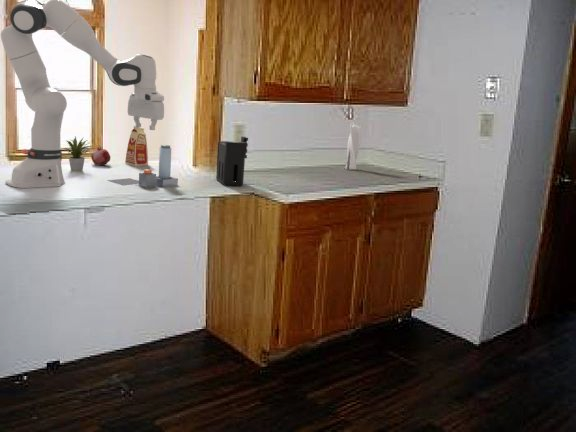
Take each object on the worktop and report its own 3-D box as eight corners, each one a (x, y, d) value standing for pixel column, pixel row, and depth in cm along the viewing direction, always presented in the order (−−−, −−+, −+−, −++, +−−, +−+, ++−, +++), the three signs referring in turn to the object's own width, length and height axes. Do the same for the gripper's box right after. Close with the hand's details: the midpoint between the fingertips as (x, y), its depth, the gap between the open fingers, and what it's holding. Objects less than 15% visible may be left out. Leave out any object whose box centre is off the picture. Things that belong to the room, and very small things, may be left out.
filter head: (148, 191, 246) (149, 175, 245) (134, 187, 252) (134, 171, 251) (178, 187, 258) (179, 173, 257) (164, 183, 264) (164, 169, 263)
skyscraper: (341, 167, 360) (346, 121, 354) (353, 168, 363) (358, 122, 356) (346, 170, 352) (352, 122, 346) (359, 170, 355) (364, 123, 348)
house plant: (82, 175, 269) (82, 139, 265) (54, 171, 271) (54, 136, 267) (97, 170, 282) (97, 136, 279) (70, 167, 284) (70, 133, 281)
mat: (122, 187, 249) (122, 185, 249) (106, 182, 256) (106, 180, 256) (146, 185, 258) (146, 182, 258) (129, 180, 266) (129, 178, 265)
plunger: (146, 175, 248) (146, 170, 247) (142, 174, 250) (142, 169, 249) (153, 174, 250) (153, 170, 250) (148, 173, 252) (148, 169, 252)
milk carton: (135, 166, 304) (136, 127, 300) (124, 163, 309) (125, 124, 305) (149, 164, 311) (150, 126, 307) (138, 162, 317) (139, 124, 312)
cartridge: (163, 185, 255) (164, 146, 251) (156, 183, 258) (157, 145, 254) (172, 184, 258) (173, 146, 255) (165, 182, 262) (166, 144, 258)
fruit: (109, 163, 304) (109, 144, 302) (111, 166, 296) (111, 147, 294) (90, 163, 301) (90, 143, 299) (91, 166, 292) (92, 146, 290)
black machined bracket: (224, 186, 270) (227, 138, 265) (213, 178, 288) (216, 133, 283) (249, 187, 274) (252, 139, 269) (236, 178, 293) (239, 134, 288)
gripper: (123, 93, 249) (124, 126, 252) (154, 97, 236) (154, 131, 240) (136, 93, 253) (136, 125, 257) (166, 97, 241) (166, 131, 244)
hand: (145, 128), depth 248 cm, fingers open, 8 cm apart
